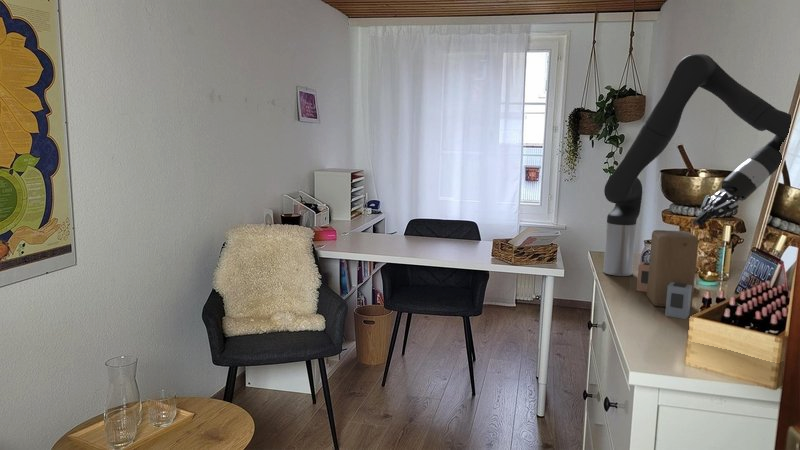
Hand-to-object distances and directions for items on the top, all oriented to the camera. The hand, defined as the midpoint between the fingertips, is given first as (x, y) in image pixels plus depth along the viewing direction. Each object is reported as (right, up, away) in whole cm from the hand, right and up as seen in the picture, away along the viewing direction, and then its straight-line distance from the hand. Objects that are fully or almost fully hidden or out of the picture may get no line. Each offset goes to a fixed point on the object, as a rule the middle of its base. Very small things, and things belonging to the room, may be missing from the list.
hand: (697, 223), depth 158 cm
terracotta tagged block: (-6, -20, +17) cm, 27 cm away
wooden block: (-6, -23, +3) cm, 24 cm away
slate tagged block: (-9, -24, -7) cm, 26 cm away
